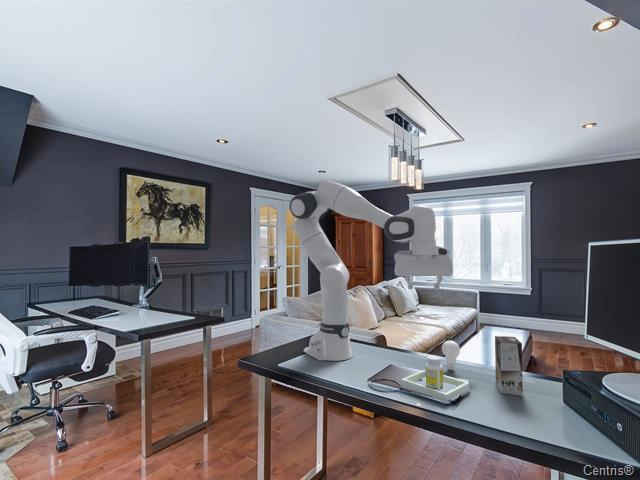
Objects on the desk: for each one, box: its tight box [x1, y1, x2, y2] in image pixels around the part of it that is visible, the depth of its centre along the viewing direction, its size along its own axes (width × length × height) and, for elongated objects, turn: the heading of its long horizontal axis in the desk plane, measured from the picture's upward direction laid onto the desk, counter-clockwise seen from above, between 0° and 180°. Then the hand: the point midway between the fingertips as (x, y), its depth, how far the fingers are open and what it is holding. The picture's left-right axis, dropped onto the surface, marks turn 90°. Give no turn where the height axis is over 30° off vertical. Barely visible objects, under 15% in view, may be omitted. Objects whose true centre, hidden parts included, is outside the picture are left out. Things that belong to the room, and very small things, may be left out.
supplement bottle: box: [424, 355, 444, 391], centre depth 110 cm, size 5×5×10 cm
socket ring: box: [367, 382, 396, 393], centre depth 114 cm, size 11×11×1 cm
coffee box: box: [494, 335, 524, 396], centre depth 111 cm, size 9×6×16 cm
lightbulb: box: [441, 340, 461, 372], centre depth 128 cm, size 6×6×11 cm
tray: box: [400, 369, 471, 402], centre depth 110 cm, size 16×14×3 cm
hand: (423, 288), depth 123 cm, fingers open, 8 cm apart
